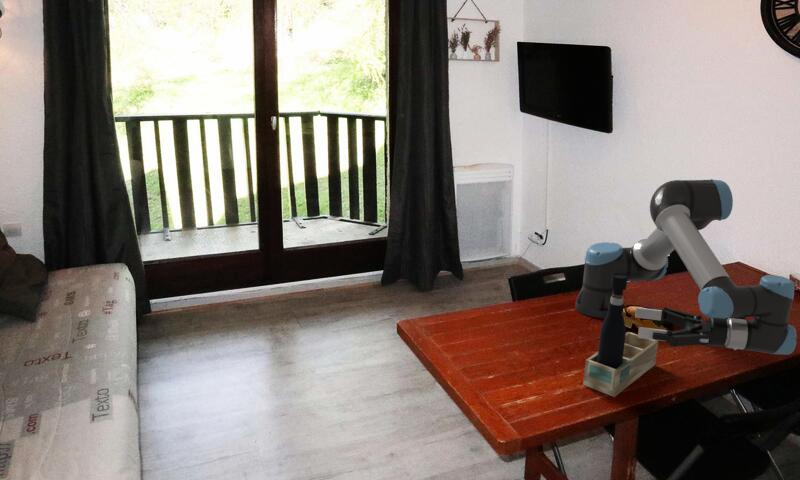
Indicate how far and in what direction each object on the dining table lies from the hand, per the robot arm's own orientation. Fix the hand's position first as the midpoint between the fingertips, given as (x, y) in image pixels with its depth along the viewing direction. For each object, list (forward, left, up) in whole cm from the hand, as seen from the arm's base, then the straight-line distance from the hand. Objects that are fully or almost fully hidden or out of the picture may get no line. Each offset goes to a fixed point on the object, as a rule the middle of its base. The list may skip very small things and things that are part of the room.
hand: (636, 322), depth 174 cm
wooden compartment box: (-5, +6, -19) cm, 21 cm away
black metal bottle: (-5, -2, -18) cm, 19 cm away
